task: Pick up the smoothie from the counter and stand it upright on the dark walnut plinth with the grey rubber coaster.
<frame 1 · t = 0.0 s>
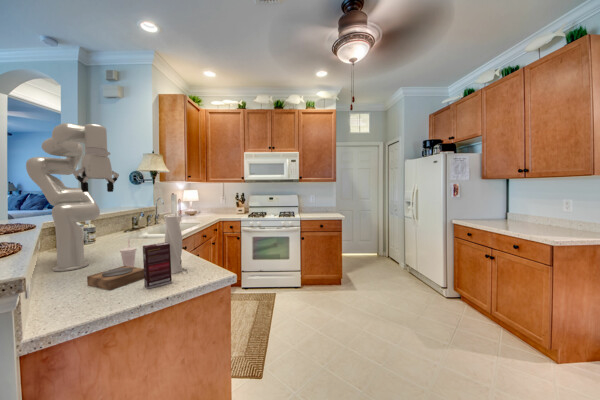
hand: (98, 191, 107), 37 cm above the counter, tool pointing down, fingers open, 9 cm apart
supplement box: (158, 285, 93), on the counter
smoothie: (129, 269, 113), on the counter
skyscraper: (175, 272, 109), on the counter
plinth: (118, 281, 98), on the counter
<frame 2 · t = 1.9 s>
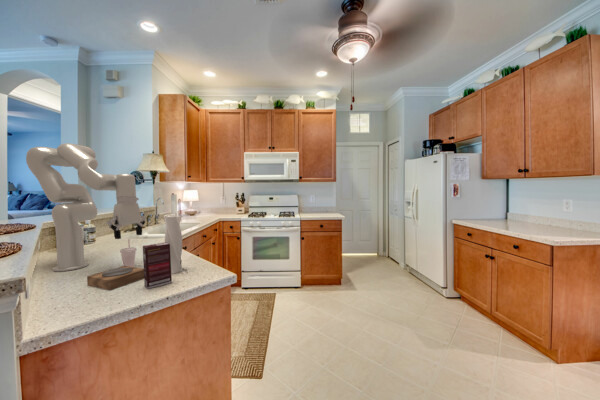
hand: (129, 236, 113), 15 cm above the counter, tool pointing down, fingers open, 9 cm apart
nothing on the counter moved.
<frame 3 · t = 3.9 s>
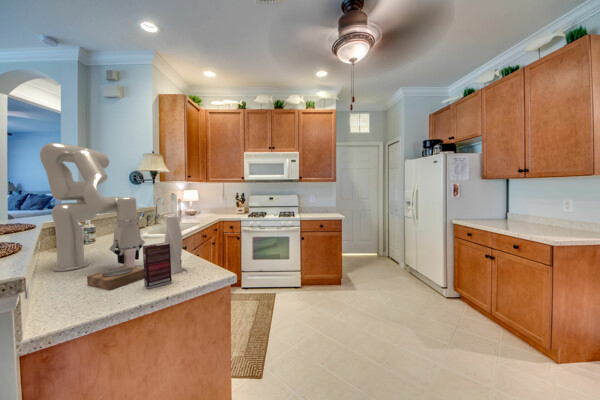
hand: (128, 260, 113), 4 cm above the counter, tool pointing down, fingers closed on smoothie, 6 cm apart
smoothie: (129, 269, 113), on the counter, touching gripper
everything else where it was.
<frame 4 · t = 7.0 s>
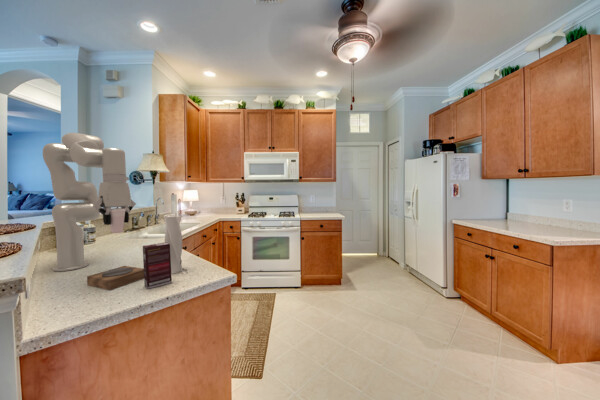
hand: (116, 223, 98), 24 cm above the counter, tool pointing down, fingers closed on smoothie, 6 cm apart
smoothie: (117, 233, 98), point 20 cm above the counter, touching gripper
everything else where it was.
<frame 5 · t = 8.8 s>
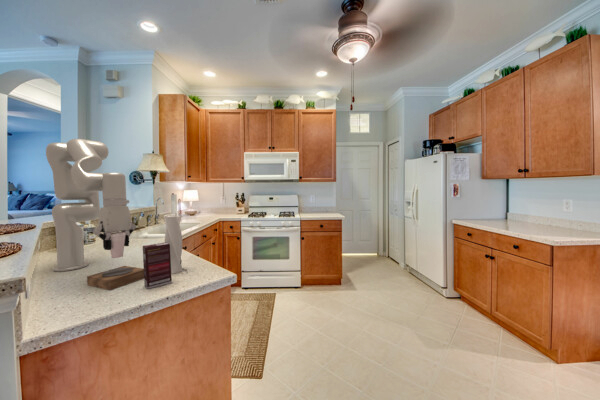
hand: (116, 247, 97), 14 cm above the counter, tool pointing down, fingers closed on smoothie, 6 cm apart
smoothie: (117, 257, 97), point 10 cm above the counter, touching gripper
everything else where it was.
when the fingers open (9 cm above the counter, at t = 10.3 s): smoothie drops 1 cm, resting on plinth.
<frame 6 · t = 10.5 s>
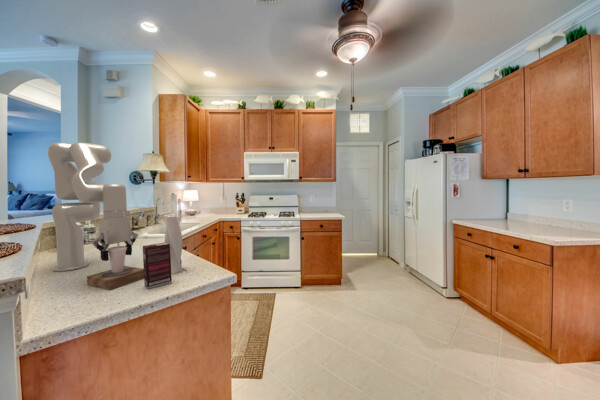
hand: (117, 257, 97), 10 cm above the counter, tool pointing down, fingers open, 8 cm apart
smoothie: (117, 271, 98), point 4 cm above the counter, touching plinth
everything else where it was.
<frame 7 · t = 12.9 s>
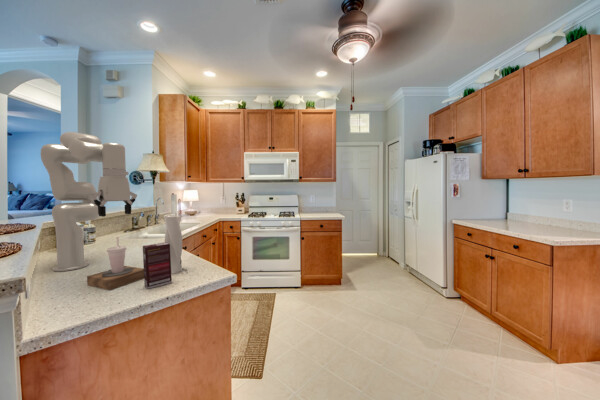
hand: (115, 215, 99), 27 cm above the counter, tool pointing down, fingers open, 9 cm apart
nothing on the counter moved.
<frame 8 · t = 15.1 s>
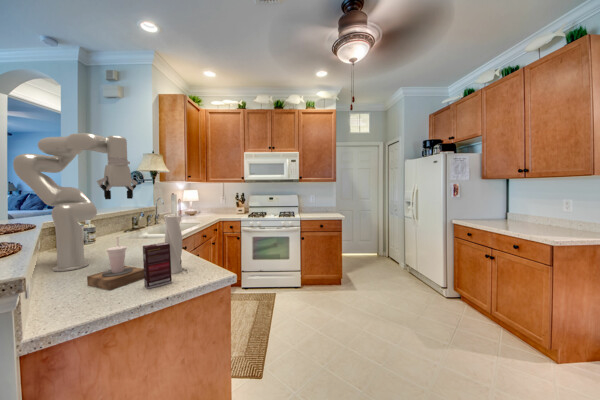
hand: (119, 198, 114), 33 cm above the counter, tool pointing down, fingers open, 9 cm apart
nothing on the counter moved.
at the end: smoothie inside the target area on the plinth (0.2 cm from its centre), point 3.8 cm above the plinth's base; smoothie tilted 0°; the gripper is holding nothing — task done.
